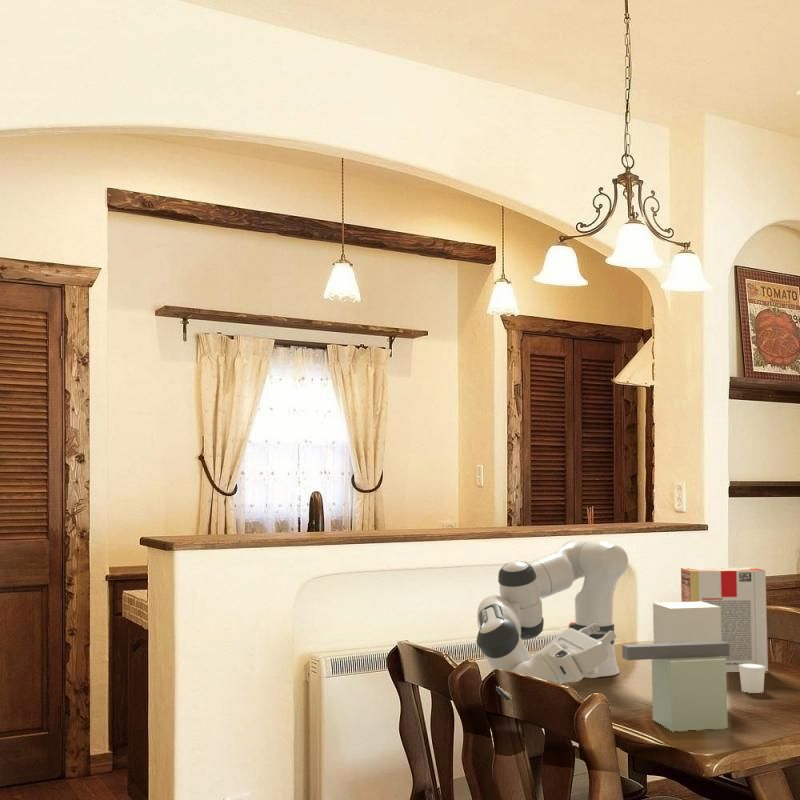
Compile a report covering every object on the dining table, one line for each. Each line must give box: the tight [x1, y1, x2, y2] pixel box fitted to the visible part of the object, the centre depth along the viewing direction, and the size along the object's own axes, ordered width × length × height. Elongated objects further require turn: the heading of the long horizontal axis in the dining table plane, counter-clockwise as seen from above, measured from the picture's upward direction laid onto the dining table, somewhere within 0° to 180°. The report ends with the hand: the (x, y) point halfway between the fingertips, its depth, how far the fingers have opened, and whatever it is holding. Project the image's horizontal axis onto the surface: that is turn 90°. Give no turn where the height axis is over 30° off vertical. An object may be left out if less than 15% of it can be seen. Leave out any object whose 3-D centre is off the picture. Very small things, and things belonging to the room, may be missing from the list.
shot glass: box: [739, 663, 766, 694], centre depth 261 cm, size 7×7×7 cm
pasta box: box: [680, 567, 769, 672], centre depth 289 cm, size 23×8×30 cm, turn 93°
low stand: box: [651, 657, 728, 733], centre depth 228 cm, size 14×10×16 cm
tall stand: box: [652, 601, 722, 658], centre depth 250 cm, size 14×10×25 cm
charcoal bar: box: [621, 641, 730, 661], centre depth 228 cm, size 26×3×3 cm, turn 101°
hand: (605, 629), depth 225 cm, fingers open, 8 cm apart
